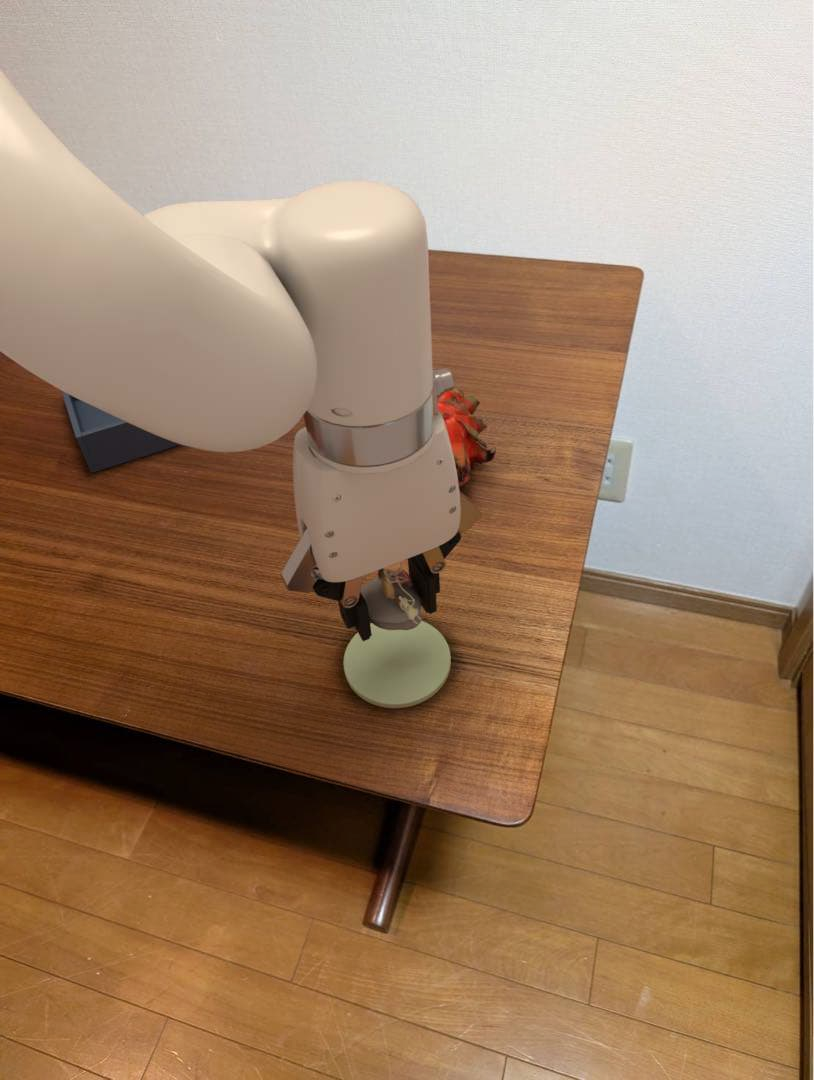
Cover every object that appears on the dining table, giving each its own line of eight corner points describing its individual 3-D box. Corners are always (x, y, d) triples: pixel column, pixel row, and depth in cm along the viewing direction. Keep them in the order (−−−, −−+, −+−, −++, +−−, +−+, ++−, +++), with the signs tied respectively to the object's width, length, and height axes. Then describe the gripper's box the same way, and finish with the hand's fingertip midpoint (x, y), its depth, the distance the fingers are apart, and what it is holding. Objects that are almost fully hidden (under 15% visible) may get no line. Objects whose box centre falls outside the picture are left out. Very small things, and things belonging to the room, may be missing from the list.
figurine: (347, 618, 61) (337, 564, 57) (386, 582, 64) (379, 527, 59) (401, 654, 59) (395, 599, 55) (440, 615, 61) (437, 560, 57)
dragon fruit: (438, 435, 87) (463, 524, 80) (370, 411, 83) (391, 504, 76) (488, 379, 82) (520, 470, 75) (419, 350, 77) (446, 444, 70)
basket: (91, 473, 84) (75, 437, 80) (69, 404, 92) (54, 369, 89) (235, 427, 88) (226, 391, 84) (202, 365, 96) (192, 330, 93)
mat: (369, 725, 62) (369, 721, 61) (328, 644, 67) (327, 640, 67) (469, 681, 64) (469, 677, 63) (421, 606, 69) (421, 602, 69)
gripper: (468, 340, 52) (469, 541, 66) (210, 422, 48) (266, 620, 61) (530, 402, 48) (517, 606, 61) (249, 500, 43) (301, 696, 56)
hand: (391, 611), depth 61 cm, fingers closed on figurine, 4 cm apart
